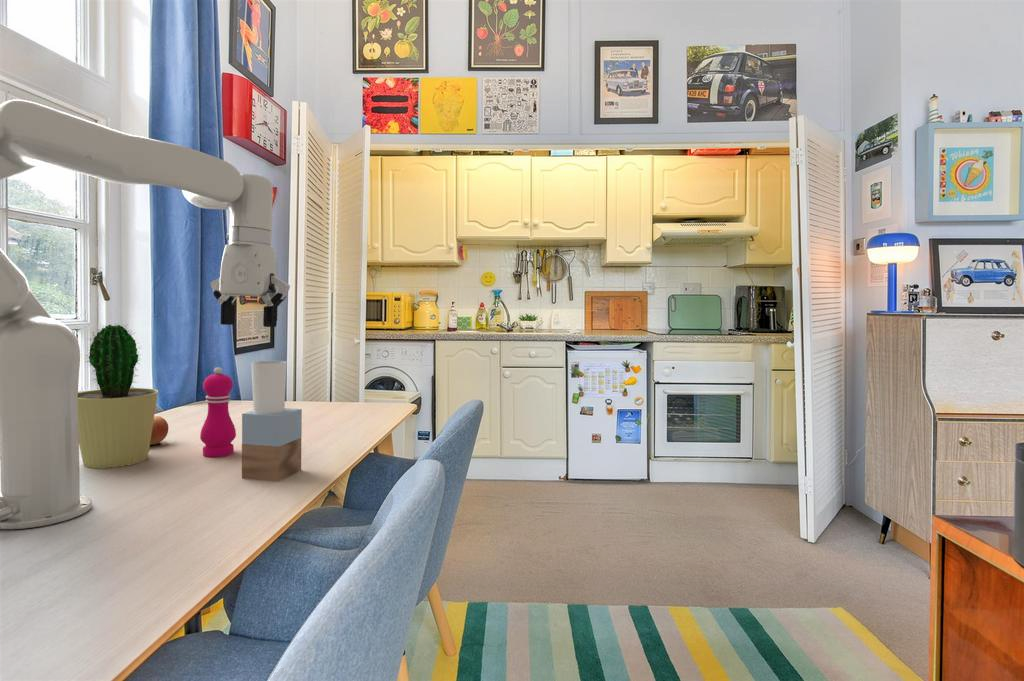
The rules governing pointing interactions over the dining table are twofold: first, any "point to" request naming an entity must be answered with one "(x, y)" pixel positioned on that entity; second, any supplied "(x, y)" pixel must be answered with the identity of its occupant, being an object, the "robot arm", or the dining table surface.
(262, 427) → the slate block
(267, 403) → the white cup
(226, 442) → the pepper mill
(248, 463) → the walnut block
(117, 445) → the potted cactus
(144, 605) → the dining table surface
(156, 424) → the apple
